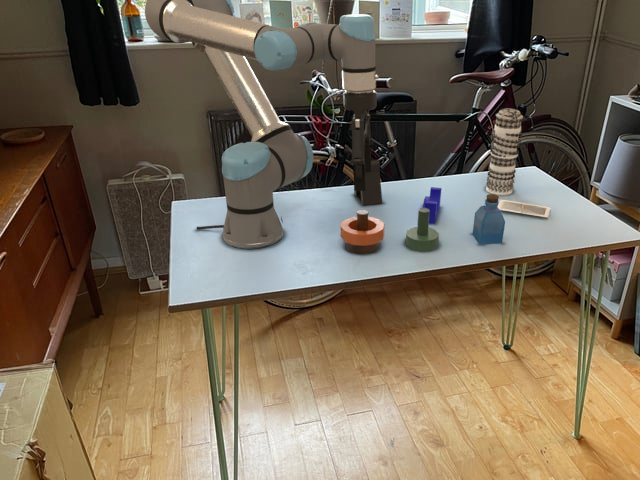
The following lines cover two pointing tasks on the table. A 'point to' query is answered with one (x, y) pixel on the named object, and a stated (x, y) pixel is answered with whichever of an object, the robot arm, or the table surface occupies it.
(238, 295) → the table surface
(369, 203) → the phone stand
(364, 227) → the walnut peg
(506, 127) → the decorative candle
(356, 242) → the ring
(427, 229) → the sage peg
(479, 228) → the perfume bottle
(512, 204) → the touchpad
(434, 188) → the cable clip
